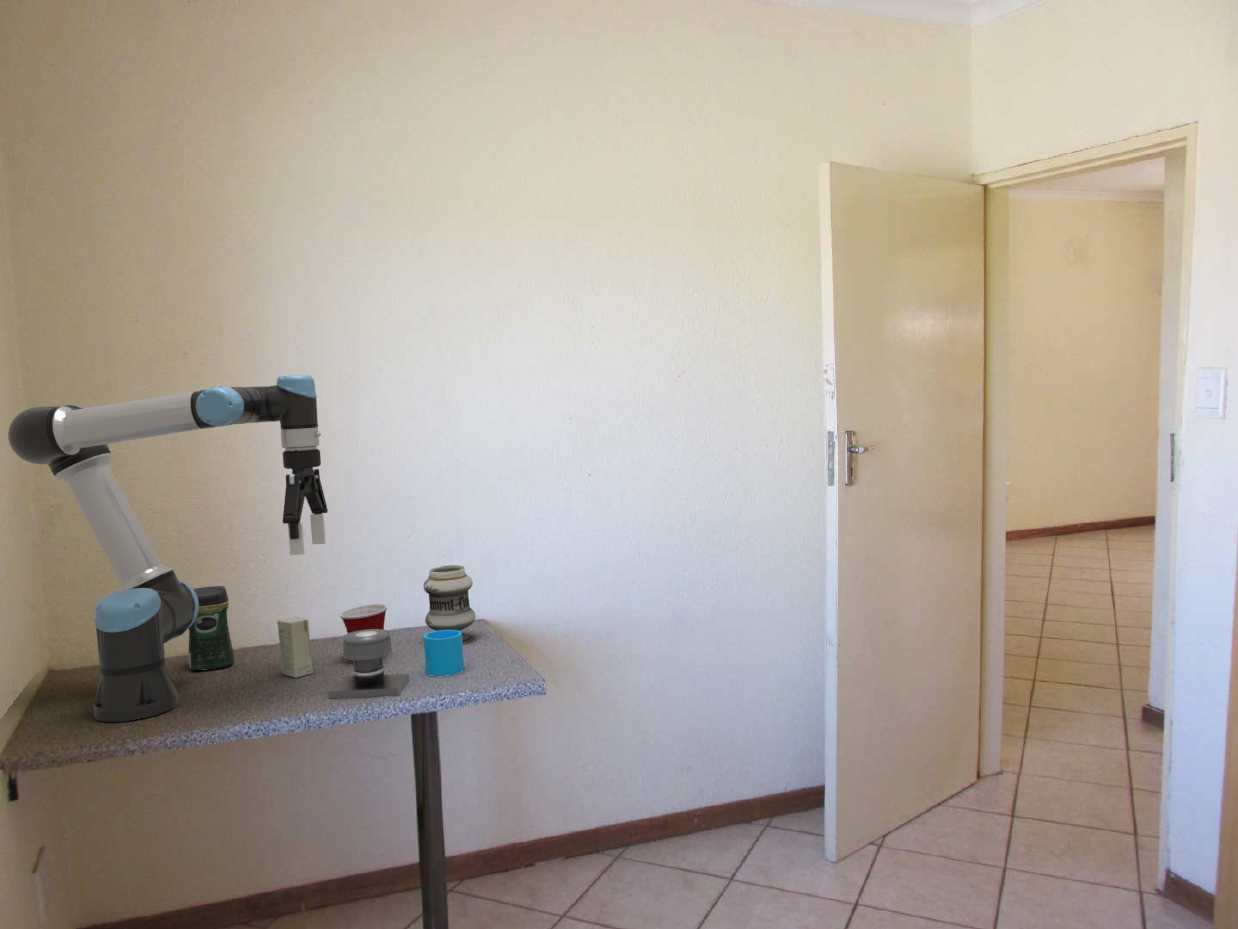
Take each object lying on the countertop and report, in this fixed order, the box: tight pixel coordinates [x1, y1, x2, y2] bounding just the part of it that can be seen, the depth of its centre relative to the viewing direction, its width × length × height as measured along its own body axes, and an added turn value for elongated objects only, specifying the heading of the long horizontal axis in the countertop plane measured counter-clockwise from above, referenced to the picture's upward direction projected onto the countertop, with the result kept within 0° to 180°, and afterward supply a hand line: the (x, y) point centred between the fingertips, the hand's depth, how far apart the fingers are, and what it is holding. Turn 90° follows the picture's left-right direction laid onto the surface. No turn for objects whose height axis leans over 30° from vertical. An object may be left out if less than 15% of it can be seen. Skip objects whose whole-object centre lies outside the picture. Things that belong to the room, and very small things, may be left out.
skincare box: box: [277, 616, 314, 678], centre depth 215 cm, size 6×4×12 cm
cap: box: [342, 629, 392, 661], centre depth 200 cm, size 9×9×4 cm
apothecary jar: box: [423, 564, 477, 645], centre depth 237 cm, size 12×12×18 cm
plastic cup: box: [339, 603, 388, 634], centre depth 224 cm, size 11×11×12 cm
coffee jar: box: [188, 585, 235, 671], centre depth 224 cm, size 10×8×19 cm
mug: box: [423, 630, 465, 677], centre depth 213 cm, size 12×8×8 cm
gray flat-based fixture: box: [327, 656, 410, 699], centre depth 201 cm, size 14×10×10 cm
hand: (308, 549), depth 206 cm, fingers open, 13 cm apart
